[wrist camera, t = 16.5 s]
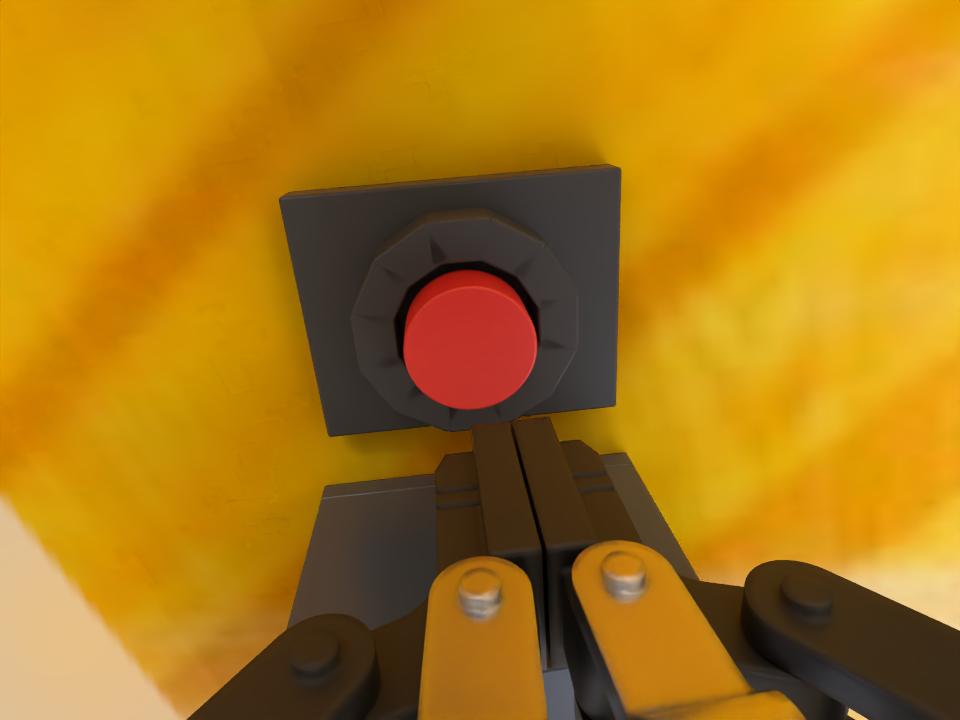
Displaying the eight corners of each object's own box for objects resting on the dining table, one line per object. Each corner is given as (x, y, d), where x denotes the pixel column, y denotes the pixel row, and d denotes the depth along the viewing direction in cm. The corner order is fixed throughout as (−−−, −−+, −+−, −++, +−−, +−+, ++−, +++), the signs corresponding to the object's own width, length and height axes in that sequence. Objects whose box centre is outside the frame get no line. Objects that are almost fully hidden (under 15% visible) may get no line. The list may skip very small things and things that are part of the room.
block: (286, 192, 18) (260, 207, 15) (610, 163, 18) (643, 173, 15) (332, 420, 21) (318, 468, 18) (606, 391, 21) (633, 434, 19)
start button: (397, 275, 16) (394, 293, 15) (524, 262, 16) (535, 279, 15) (413, 389, 18) (411, 417, 16) (529, 377, 18) (539, 403, 16)
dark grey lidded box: (373, 709, 27) (355, 924, 20) (324, 485, 22) (275, 667, 15) (619, 677, 28) (686, 876, 20) (626, 452, 23) (719, 612, 15)
